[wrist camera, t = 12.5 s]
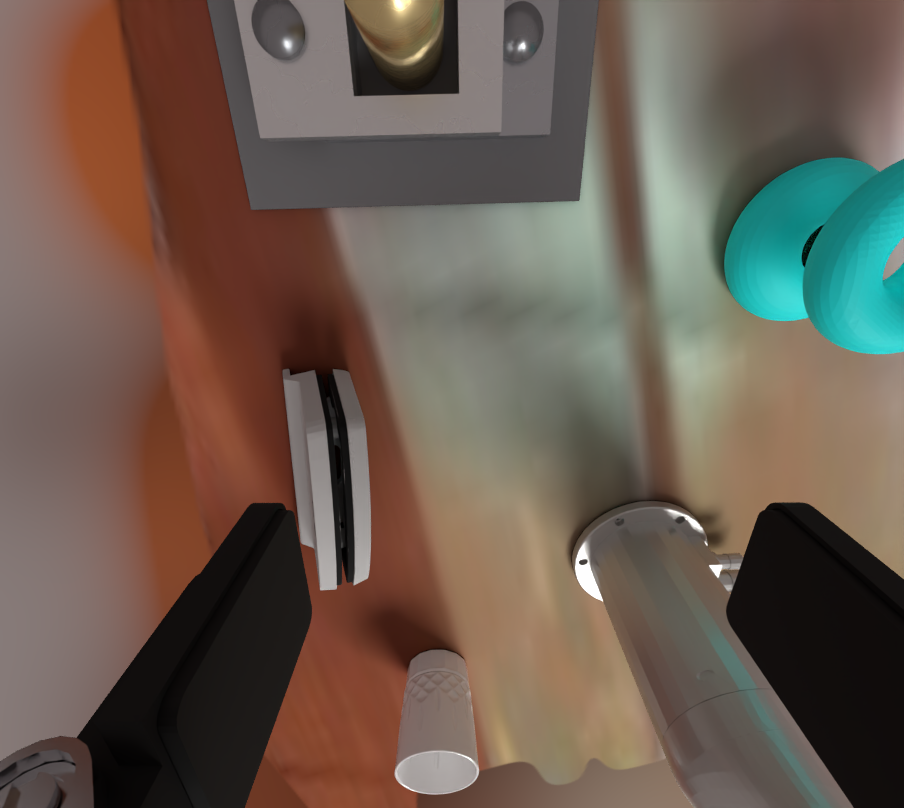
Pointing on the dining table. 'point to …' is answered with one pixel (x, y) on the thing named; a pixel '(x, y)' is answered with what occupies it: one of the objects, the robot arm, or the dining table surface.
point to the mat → (417, 162)
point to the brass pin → (402, 38)
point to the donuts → (825, 252)
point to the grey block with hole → (398, 116)
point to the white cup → (437, 726)
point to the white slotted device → (330, 474)
